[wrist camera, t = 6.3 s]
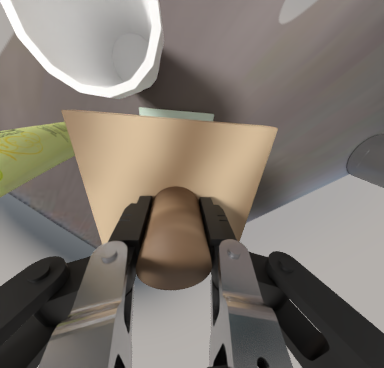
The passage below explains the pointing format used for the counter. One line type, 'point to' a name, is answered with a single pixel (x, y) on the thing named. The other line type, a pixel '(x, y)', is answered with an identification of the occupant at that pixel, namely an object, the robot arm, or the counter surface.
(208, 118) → the mat
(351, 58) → the counter surface
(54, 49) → the foam cup
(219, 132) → the lid
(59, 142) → the tube
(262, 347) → the robot arm
